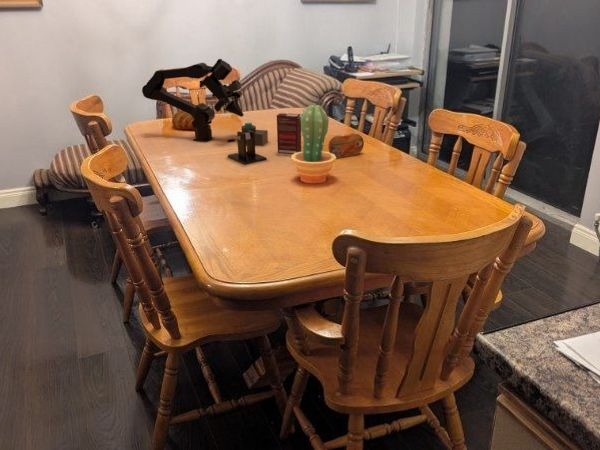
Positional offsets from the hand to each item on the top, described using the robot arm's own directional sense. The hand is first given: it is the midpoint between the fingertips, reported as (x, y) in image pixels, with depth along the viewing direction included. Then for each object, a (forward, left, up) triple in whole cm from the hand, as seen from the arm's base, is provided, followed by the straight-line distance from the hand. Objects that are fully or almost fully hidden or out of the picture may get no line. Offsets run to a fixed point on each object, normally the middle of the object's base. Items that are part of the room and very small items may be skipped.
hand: (242, 115), depth 220 cm
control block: (+5, 0, -11) cm, 12 cm away
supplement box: (+25, -9, -12) cm, 29 cm away
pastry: (-39, +14, -7) cm, 42 cm away
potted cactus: (+45, -33, -12) cm, 57 cm away
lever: (+10, -20, -5) cm, 23 cm away
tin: (+46, -2, -12) cm, 48 cm away
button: (+2, 0, -5) cm, 5 cm away
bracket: (+13, -21, -11) cm, 28 cm away
